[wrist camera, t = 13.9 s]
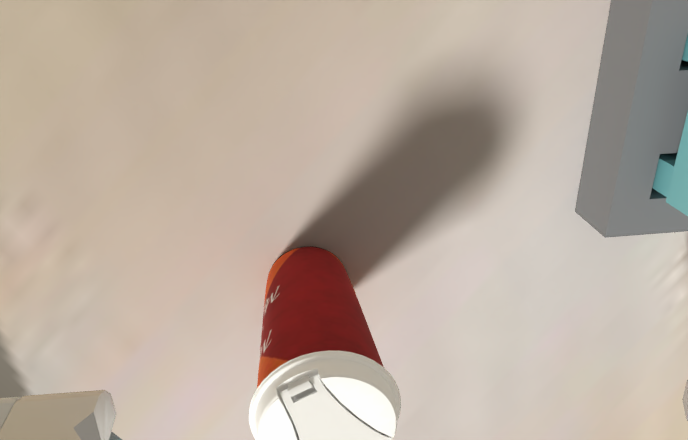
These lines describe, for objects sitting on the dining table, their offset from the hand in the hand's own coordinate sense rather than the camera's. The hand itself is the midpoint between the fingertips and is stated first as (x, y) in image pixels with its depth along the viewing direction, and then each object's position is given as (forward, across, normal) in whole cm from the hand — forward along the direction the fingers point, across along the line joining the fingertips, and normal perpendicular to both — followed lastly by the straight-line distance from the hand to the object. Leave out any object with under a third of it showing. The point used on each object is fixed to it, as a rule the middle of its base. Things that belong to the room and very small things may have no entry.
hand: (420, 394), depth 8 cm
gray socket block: (+29, -23, +4) cm, 37 cm away
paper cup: (+29, 0, +16) cm, 33 cm away
